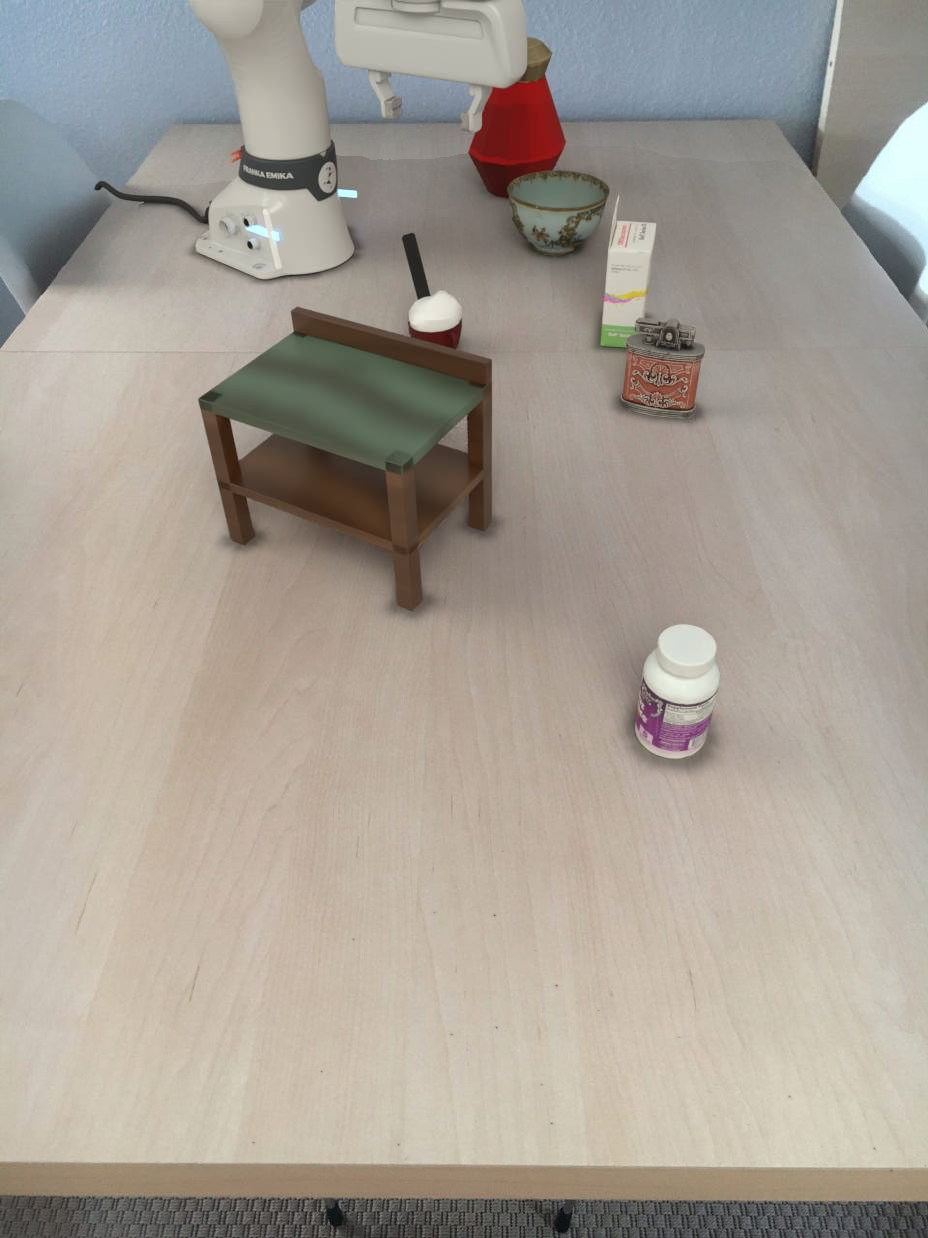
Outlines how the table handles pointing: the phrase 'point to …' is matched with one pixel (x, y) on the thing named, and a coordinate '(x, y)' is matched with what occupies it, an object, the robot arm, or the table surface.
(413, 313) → the cocoa
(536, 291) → the table surface
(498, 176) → the bottle
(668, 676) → the pill bottle
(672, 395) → the lighter
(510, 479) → the table surface
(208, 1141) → the table surface
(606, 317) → the white medicine box
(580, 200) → the bowl
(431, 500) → the green top side table
